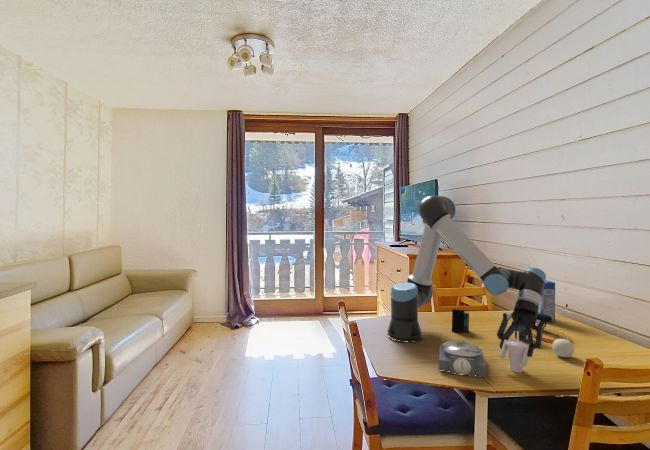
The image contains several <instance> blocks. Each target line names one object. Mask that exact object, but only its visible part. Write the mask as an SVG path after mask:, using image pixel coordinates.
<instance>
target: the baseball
mask: <svg viewBox="0 0 650 450" xmlns="http://www.w3.org/2000/svg"><path fill="white" fill-rule="evenodd" d="M551 345H552V351H553V352H554V353H555V355H557V356H558V357H561V358H567V359H568V358H571V357H572V356H573V355H574V353H575V346H574V344H573V343H572V342H571V341H570V340H568V339H565V338H557V339H555V340H554V341H553V342H552V344H551Z"/></svg>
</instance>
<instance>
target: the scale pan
mask: <svg viewBox="0 0 650 450" xmlns="http://www.w3.org/2000/svg"><path fill="white" fill-rule="evenodd" d="M442 344H443V345H442V349H443V351H445V352H446V353H448V354H450V355H453V356H456V357H463V358H474V357H478V356H480V354H481V349H482V348H481V347H479V346H478V345H476V344H475V343H471V342H468V341H464V340H448V341H445V342H444V343H442Z"/></svg>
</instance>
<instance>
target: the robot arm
mask: <svg viewBox="0 0 650 450" xmlns="http://www.w3.org/2000/svg"><path fill="white" fill-rule="evenodd" d="M456 207H457V206H456V204H455V203H454V201H453V200H452V199H451V198H449V197H446V196H444V195H428V196H426V197H424V198H423V199H422V200H421V201H420V203H419V205H418V214H419V217H420V218H421V219H422V224H423V226H424V229H423V232H422V236H421V240H420V244H419V248H418V251H417V255H416V258H415V259H416V260H415V263H414V268H413V270H412V273H411V274H409V275H408V278H407V281H406V282H398V283H395V284H393V285H392V287H391V290H390V312H391V313H390V316H391V317H390V318H391V319H390V322H389V325H388V328H387V333H388V334H387V336H388V335H389V336H390V337H391V338H393V339H396V340H400V341H408V342H410V343H413V342H412V341H417V342H419V341H421V340H422V339H423V333H422V329H421V327H420V323H419V320H418V319H419V318H418V316H419V315H418V314H419V313H418V312H419V311H418V309H420V308H422V307H424V306H425V305H427V304H428V303H430V301H431V300H432V298H433V297H434V295H433V294H434V290H433V285H434V282H433V281H432V275H433V272H434V268H435V264H436V260H437V257H438V253H439V248H440V246H441V243H442V239H443V240H444V241H445V242H446V243H447V245H448V246H450V247H451V249H452V250H453V251H454V252H456V255H458V257H460V258H461V260H462V261H464V263H465V264H466V265H467V266H468V267H469V268H470V270H472V271H473V273H475V275H476V276H477V277H478V278H479V279H480V280H481V282H482V283H483V286H484V289H485V290H486V291H487V292H488V293H489V294H491V295H494V296H496V295H502V294H504V293H505V292H507V290H508V289H512V290H515V291H516V290H517V291H518V294H517V297H516V301H515V304H514V307H513V312H511V313H506V312H503V313H502V320H501V323H500V325H499V327H498V331H497V332H496V336H497V338H498V340H500V343H499V348H500V350H501V351H500V352H499V353H500V354H499V358H500V359H501V360H502V361H504V360H505V358H506V355H507V352H508V349H507V345H506V341H507V340H510V338H511V336H512V335H513V334H514V333H515V330H516V329H517V328H518V327H524V328H527V334H528V340H529V341H528V344H527V345H526V348H525V352H524V356H523V360H522V363H523V367H527V364H528V360H529V358H532V357H533V354H534V350H535V349H538V350H541V348H542V342H543V334H544V333H543V332H544V329H545V328H546V327H547V325H545V322H544V321H543V320H541V321H540V320H537V314H538V310H539V306H540V302H541V297H542V293H543V290H544V286H545V280H547V279H546V278H547V275H546V273H545V272H544V271H543V270H542V269H540V268H538V267H527V268H525V269H524V271H521V270H519V271H518V270H514V269H510V268H505V267H502V266H496V264H494V263H493V262H492V260H490V258H489V257H488V256H487V255H486V254H485V253H484V252H483V251H482V250H481V249H480V247H478V246H477V245H476V243H474V241H472V239H471V238H470V237H469V236H468V235H467V234H466V233H465V232H464V231H463V230H462V229H461V228H460V227H459V226H458V225H457V224H456V222H454V220H452V219H453V218H454V217H455V215H456V213H457V212H456V210H457V208H456ZM511 319H512V321H511ZM509 321H511V324H510V325H509V326H508V324H509ZM534 324H535V325H536V326H538V328H537V330H536V336H535V342H534V338H533V332H532V331H533V330H532V329H533V328H531V326H533V325H534ZM545 326H546V327H545ZM507 327H508V328H507ZM544 327H545V328H544ZM421 338H422V339H421ZM420 339H421V340H420ZM418 340H419V341H418Z"/></svg>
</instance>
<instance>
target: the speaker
mask: <svg viewBox="0 0 650 450" xmlns="http://www.w3.org/2000/svg"><path fill="white" fill-rule="evenodd" d="M451 310H452V311H451V313H452V315H451V332H453V333H459V334H465V332H469V331H470V330H469V329H470V325H469V324H470V312H465V310H463V309H456V308H455V309H454V308H452V309H451Z"/></svg>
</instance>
